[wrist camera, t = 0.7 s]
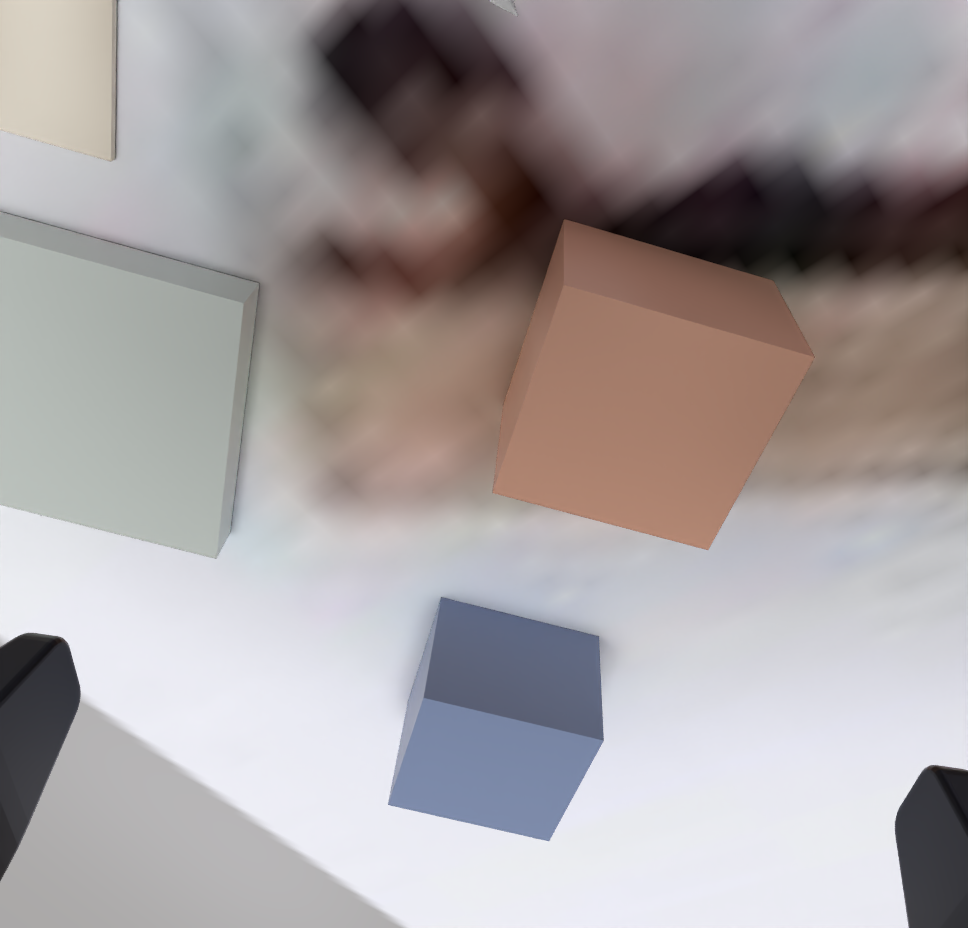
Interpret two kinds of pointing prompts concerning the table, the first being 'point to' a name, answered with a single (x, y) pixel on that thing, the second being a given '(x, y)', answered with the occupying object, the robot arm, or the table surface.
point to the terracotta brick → (646, 386)
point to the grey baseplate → (121, 386)
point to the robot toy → (505, 5)
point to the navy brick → (499, 721)
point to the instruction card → (60, 73)
